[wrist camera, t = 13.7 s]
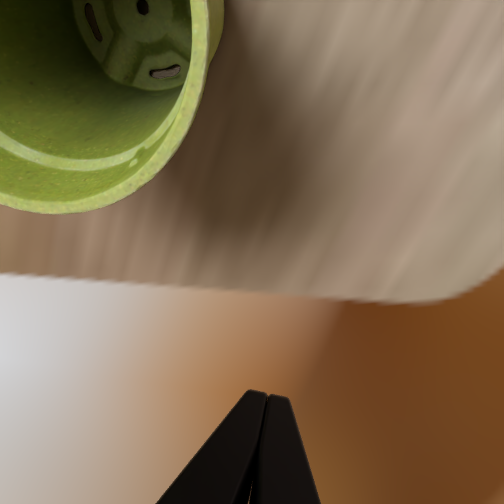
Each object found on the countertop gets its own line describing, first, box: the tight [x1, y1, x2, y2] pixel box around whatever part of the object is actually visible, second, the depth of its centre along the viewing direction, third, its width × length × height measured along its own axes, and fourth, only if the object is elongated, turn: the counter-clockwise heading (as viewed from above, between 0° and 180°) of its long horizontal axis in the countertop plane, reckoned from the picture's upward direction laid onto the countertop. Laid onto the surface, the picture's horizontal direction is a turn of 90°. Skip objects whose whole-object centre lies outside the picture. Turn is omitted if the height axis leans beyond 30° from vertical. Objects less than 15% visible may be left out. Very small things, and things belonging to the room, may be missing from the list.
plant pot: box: [0, 0, 224, 215], centre depth 13 cm, size 9×9×9 cm
